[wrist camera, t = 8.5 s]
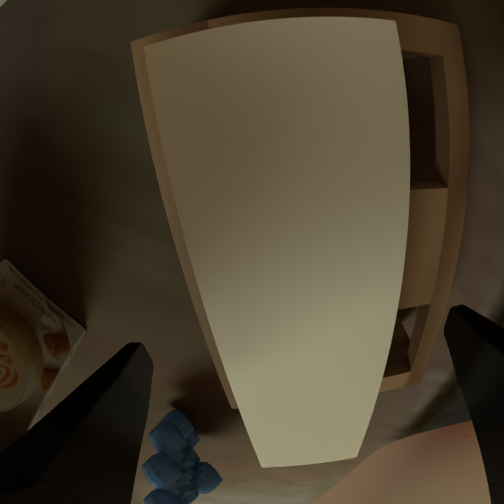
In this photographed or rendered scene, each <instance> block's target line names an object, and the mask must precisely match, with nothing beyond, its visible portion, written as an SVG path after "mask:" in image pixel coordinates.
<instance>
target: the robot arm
mask: <svg viewBox="0 0 504 504" xmlns="http://www.w3.org/2000/svg"><path fill="white" fill-rule="evenodd" d="M444 335H445V338H446V342H447V345H448V348H449V351H450V355H451V358H452V362H453V365H454V369H455V373H456V376H457V379H458V382H459V384H460V387H461V390H462V393H463V396H464V398H465V401H466V404H467V407H468V410H469V413H470V416H471V419H472V423H473V426H474V429H475V433H476V436H477V440H478V443H479V447H480V451H481V455H482V459H483V463H484V467H485V472H486V476H487V481H488V486H489V493H490V498H491V504H504V328H503V327H501V326H499V325H498V324H496V323H494V322H493V321H491V320H489V319H488V318H486V317H484V316H482V315H481V314H479V313H477V312H475V311H474V310H472V309H470V308H468V307H467V306H465V305H457V306H453V307H451V309H450V310H449V314H448V317H447V320H446V324H445V327H444ZM152 374H153V362H152V360H151V358H150V356H149V354H148V352H147V350H146V348H145V346H144V345H143V344H142V343H140V342H130V343H128V344H127V345H125V346H124V347H123V348H122V349H121V350H120V351H119V352H117V353H116V354H115V355H114V356H113V357H112V358H111V359H109V360H108V361H107V362H106V363H105V364H104V365H102V366H101V367H100V368H99V369H98V370H97V371H96V372H94V373H93V374H92V375H91V376H90V377H89V378H88V379H86V380H85V381H84V382H83V383H82V384H81V385H80V386H79V387H77V388H76V389H75V390H74V391H73V392H72V393H71V394H69V395H68V396H67V397H66V398H65V399H64V400H63V401H61V402H60V403H59V404H58V405H57V406H56V407H55V408H54V409H52V410H51V411H50V413H48V414H47V415H46V416H44V417H43V418H42V419H41V420H40V421H39V422H38V423H36V424H35V425H34V426H33V427H32V428H31V429H29V430H28V431H27V432H25V433H24V434H23V435H22V436H20V437H19V438H18V439H16V440H15V441H13V442H12V443H11V444H9V445H8V446H7V447H5V448H4V449H3V450H1V451H0V504H131V499H132V493H133V487H134V481H135V475H136V470H137V464H138V459H139V454H140V449H141V444H142V439H143V434H144V429H145V424H146V420H147V415H148V409H149V400H150V391H151V382H152Z"/></svg>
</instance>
